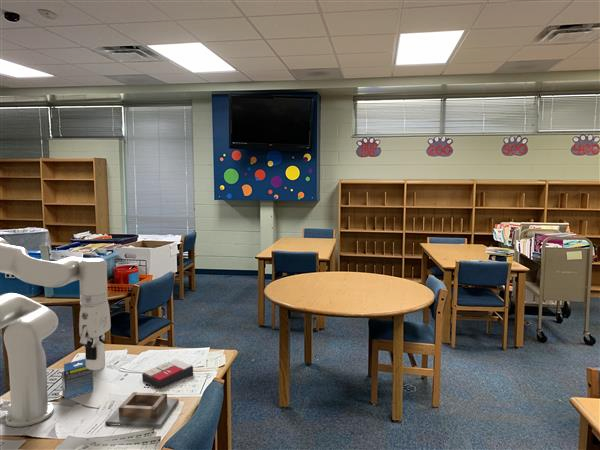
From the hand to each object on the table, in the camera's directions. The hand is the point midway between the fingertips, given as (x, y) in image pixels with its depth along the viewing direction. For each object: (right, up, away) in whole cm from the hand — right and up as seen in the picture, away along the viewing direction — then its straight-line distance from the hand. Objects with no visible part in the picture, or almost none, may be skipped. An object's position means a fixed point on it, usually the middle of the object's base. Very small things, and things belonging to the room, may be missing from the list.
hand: (95, 356), depth 127 cm
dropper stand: (+14, -19, +3) cm, 24 cm away
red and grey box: (+14, -17, +27) cm, 35 cm away
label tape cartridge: (-13, -18, +15) cm, 26 cm away
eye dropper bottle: (0, -4, 0) cm, 4 cm away
